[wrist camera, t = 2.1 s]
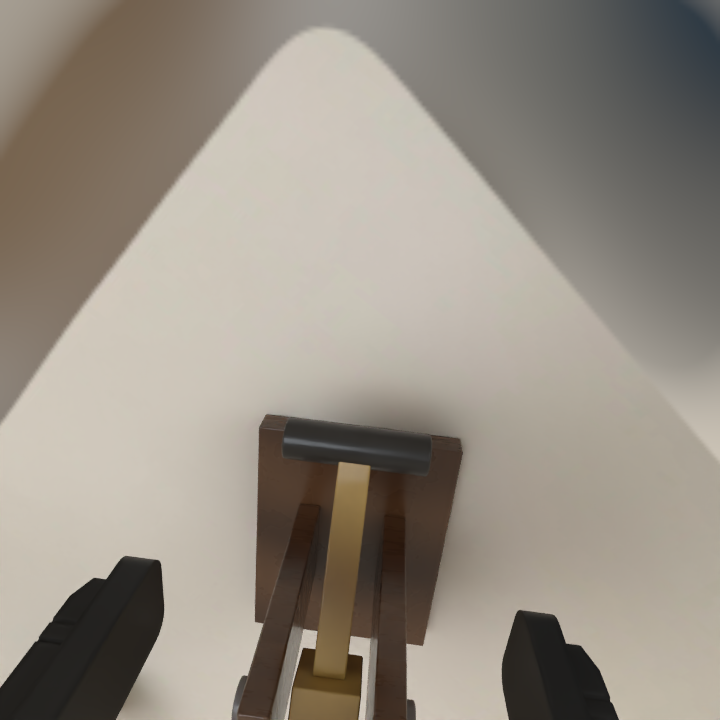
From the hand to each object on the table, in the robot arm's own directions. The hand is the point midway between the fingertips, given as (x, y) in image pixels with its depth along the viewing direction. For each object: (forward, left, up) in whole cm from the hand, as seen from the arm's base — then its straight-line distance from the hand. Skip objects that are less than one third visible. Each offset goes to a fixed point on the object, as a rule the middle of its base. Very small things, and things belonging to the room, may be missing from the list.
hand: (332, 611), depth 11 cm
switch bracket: (+8, 0, -12) cm, 14 cm away
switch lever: (+5, 0, -6) cm, 7 cm away
